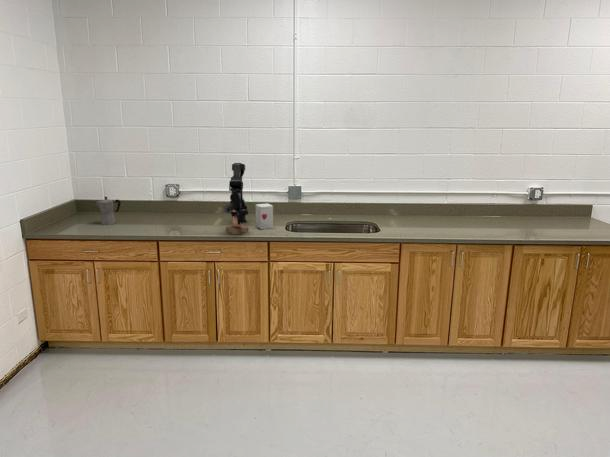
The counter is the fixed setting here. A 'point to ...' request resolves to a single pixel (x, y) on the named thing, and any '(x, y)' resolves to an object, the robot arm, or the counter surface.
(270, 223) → the supplement box
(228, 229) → the tan flat block
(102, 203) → the coffeepot
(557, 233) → the counter surface
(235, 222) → the terracotta cylinder
